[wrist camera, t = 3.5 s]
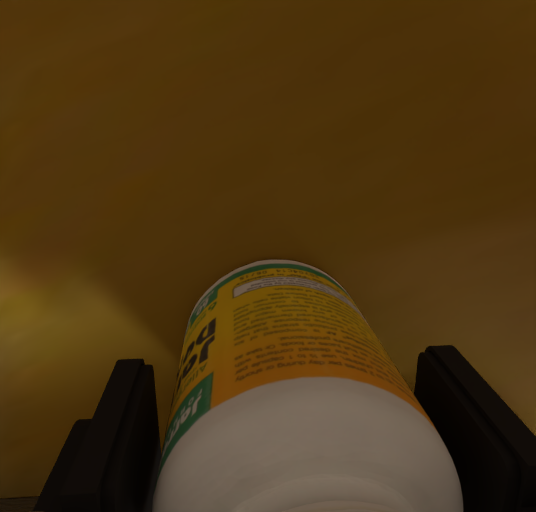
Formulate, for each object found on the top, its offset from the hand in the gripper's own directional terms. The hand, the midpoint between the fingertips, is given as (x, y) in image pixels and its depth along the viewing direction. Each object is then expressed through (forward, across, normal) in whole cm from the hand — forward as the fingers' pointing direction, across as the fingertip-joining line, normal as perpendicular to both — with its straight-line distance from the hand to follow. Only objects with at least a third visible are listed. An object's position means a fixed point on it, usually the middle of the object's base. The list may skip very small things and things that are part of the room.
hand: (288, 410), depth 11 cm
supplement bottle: (+4, 0, 0) cm, 4 cm away
